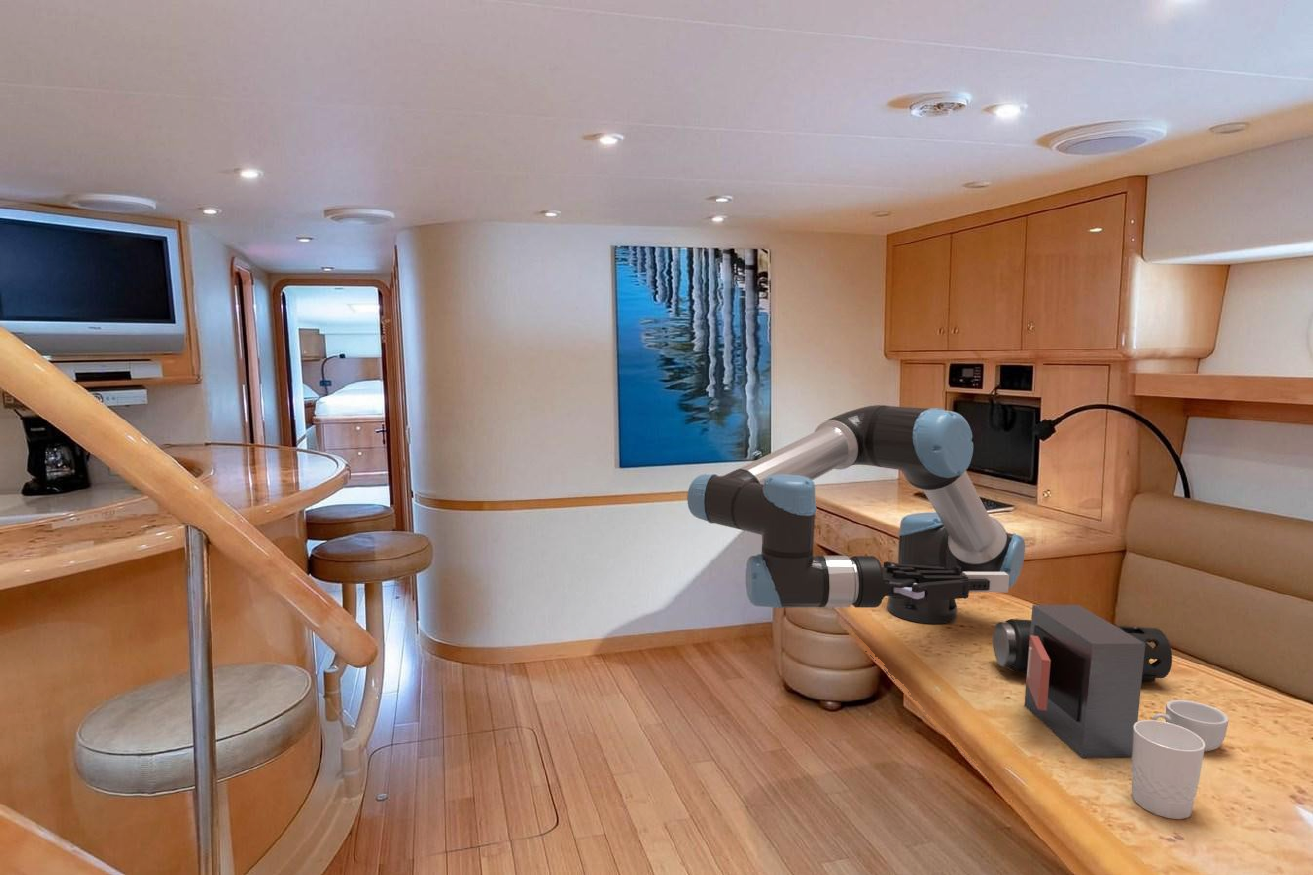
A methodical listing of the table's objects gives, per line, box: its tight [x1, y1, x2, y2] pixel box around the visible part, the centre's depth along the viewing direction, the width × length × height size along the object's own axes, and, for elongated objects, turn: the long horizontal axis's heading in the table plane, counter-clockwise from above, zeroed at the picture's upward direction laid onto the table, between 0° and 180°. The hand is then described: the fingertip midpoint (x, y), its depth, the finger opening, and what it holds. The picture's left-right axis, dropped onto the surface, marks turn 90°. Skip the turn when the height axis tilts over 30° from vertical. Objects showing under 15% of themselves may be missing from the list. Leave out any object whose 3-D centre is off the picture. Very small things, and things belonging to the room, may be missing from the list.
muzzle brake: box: [992, 618, 1173, 682], centre depth 136 cm, size 10×28×10 cm, turn 83°
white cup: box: [1131, 719, 1205, 820], centre depth 98 cm, size 8×8×10 cm
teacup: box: [1152, 699, 1229, 752], centre depth 114 cm, size 10×8×5 cm
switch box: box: [1023, 604, 1145, 759], centre depth 116 cm, size 16×8×18 cm, turn 2°
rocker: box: [1025, 635, 1051, 711], centre depth 116 cm, size 10×1×8 cm, turn 162°
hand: (1006, 581), depth 109 cm, fingers closed
